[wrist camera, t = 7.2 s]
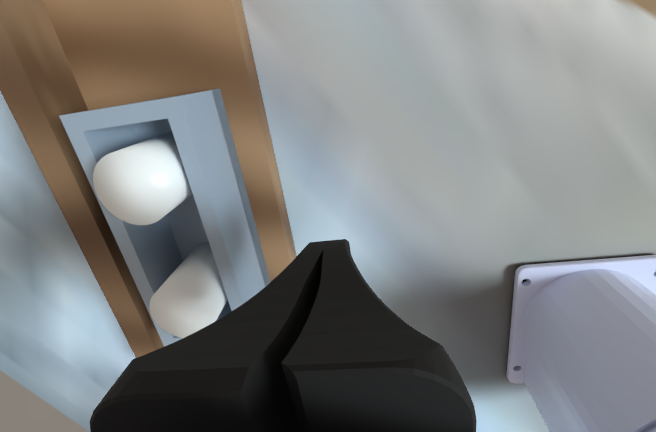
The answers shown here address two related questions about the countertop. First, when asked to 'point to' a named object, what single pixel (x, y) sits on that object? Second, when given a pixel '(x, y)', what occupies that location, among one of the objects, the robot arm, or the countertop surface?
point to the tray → (195, 211)
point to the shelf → (128, 87)
